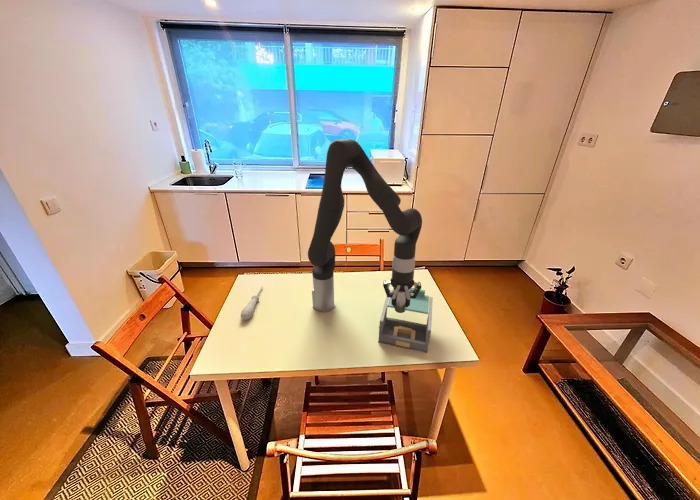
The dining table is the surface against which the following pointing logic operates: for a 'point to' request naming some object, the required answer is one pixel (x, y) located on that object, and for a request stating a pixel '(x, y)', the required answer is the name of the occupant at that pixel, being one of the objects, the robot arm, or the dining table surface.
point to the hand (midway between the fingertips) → (400, 305)
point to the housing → (405, 331)
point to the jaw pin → (400, 302)
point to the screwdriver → (250, 307)
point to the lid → (416, 302)
